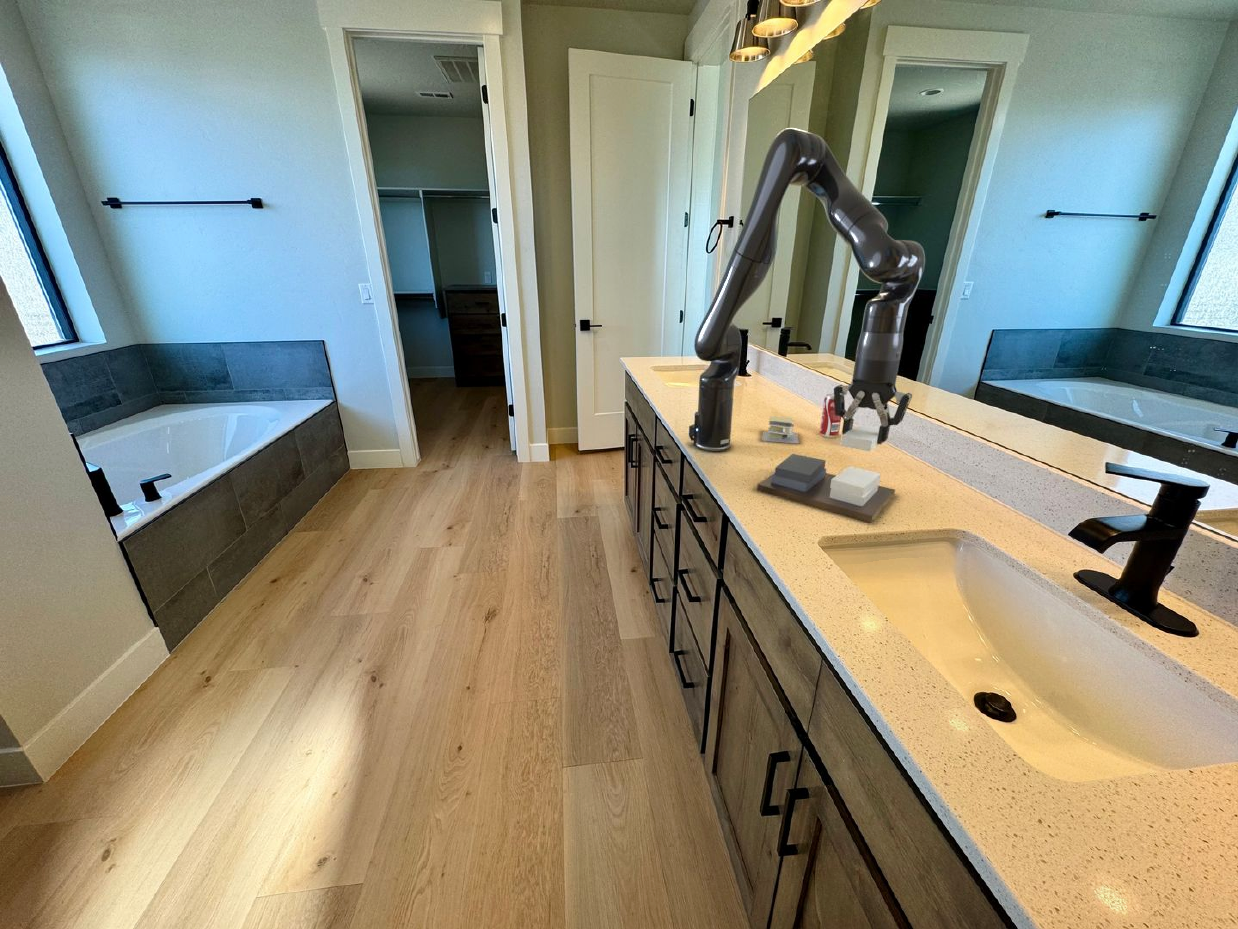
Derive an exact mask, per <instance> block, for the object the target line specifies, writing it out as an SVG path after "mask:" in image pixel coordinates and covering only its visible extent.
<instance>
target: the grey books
mask: <svg viewBox="0 0 1238 929" xmlns="http://www.w3.org/2000/svg"><path fill="white" fill-rule="evenodd" d="M826 463H827V460H825V459H820V458H815V457H811V456H805V455H800V454H796V453H791V454H790V455H789V456H788V457H787V458H785V459H784V460H782V461H781V462H780V463H779V464H778V465H776V466H775V469H774V472H773V473H774V474H773V473H772V474H771V475H772V478H771V483H774V484H778V485H781V486H785V487H789V488H792V489H796V490H800V491H803V492H807V491H808V490H809V489H811V488H812V487H813V486H814V485H816V484H817V483H818V482H819V481H821V480H822V479H823V478H824V477H825V475H826V473H827V468H826Z"/></svg>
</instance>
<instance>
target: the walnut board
mask: <svg viewBox="0 0 1238 929" xmlns="http://www.w3.org/2000/svg"><path fill="white" fill-rule="evenodd" d="M774 473H775V472H773V473H772V474H774ZM772 474H771V475H769V476H767V477H766V478H764V479H763V480H760V482H758V483H757V485H756V491H758V492H762V493H765V494H770V495H773V496H776V497H780V498H784V499H787V500H791V501H794V502H798V503H801V504H803V505H804V504H805V505H806V506H811V507H815V508H818V509H822V510H825V511H828V512H832V513H834V514H840V515H843V516H846V517H849V518H852V519H856V520H860V521H864V522H866V523H870V524H871V523H873V521H874V520H875V519H876V518H877V517H878V515H880V513H881V512H882V511H883V510H884V508H885V507H886V506H887V505H888V504H889V502H890V501H891V500H892V499H893V498H894V496H895V493H896V489H894V488H890V487H887V486H881V485H878V490H877V491H876V493H875V494H874V495H873V496H872V497H871V498H870V499H869V500H868V501H867V502H866V503H865V504H864V505H863V506H859V505H855V504H851V503H847V502H844V501H840V500H836V499H833V498H830V492H831V489H832V488H830V486H831V479H833V478H834V477H836V476H837V475H838V474H837V475H836V474H833V473H828V472H826V475H825V477H824V478H823V479H822V480H821V481H819V482H818V483H817V484H816V485H814V486H813V487H812V488H811V489H809V490H808V491H807V492H803V491H800V490H796V489H792V488H789V487H785V486H781V485H778V484H774V483H771V478H772Z"/></svg>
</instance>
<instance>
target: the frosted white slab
mask: <svg viewBox="0 0 1238 929" xmlns="http://www.w3.org/2000/svg"><path fill="white" fill-rule="evenodd" d="M879 428H880V426H879V427H878V426H874V425H873V426H872V425H867V424H861V423H858V424H856V425H854V426H853V428H852V429H851V430H849V431H848V432H846V433H845V434H842V435H841V439H840V447H844V448H848V449H849V448H850V449H855V450H860V451H864V452H869V453H870V452H872V451H873V450H874V449H875V448H876V447H878V446H879V444H877V440H878V434H879Z"/></svg>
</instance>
